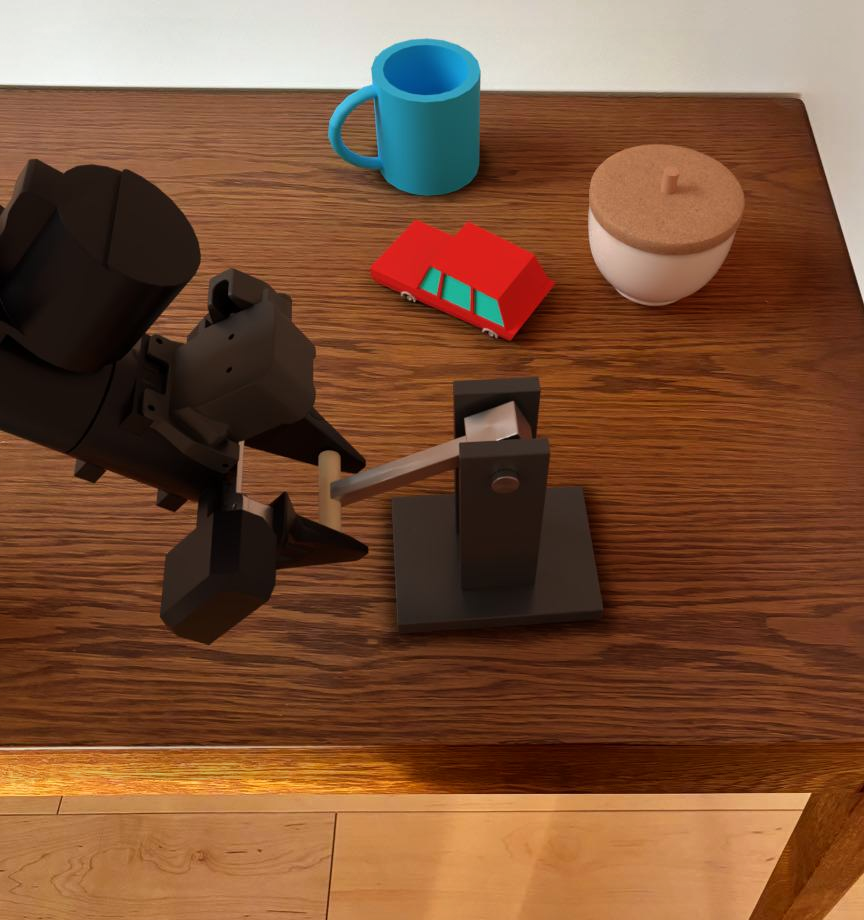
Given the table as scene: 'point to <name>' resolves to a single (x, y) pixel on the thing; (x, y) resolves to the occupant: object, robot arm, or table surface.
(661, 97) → the table surface
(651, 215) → the trinket box
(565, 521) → the bracket
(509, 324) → the toy car
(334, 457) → the lever
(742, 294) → the table surface
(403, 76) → the mug
